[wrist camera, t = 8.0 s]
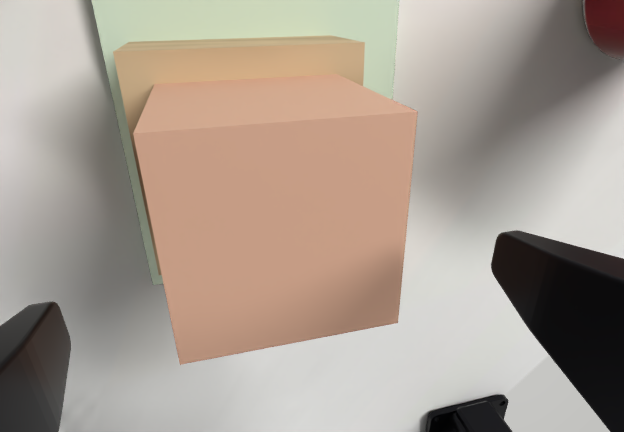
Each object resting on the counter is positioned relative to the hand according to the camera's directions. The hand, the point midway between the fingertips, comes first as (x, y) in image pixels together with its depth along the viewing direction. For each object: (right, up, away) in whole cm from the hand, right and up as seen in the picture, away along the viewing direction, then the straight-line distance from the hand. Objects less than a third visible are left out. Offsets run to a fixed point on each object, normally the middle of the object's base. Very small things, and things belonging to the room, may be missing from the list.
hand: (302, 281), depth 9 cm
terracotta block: (-2, +3, +7) cm, 8 cm away
